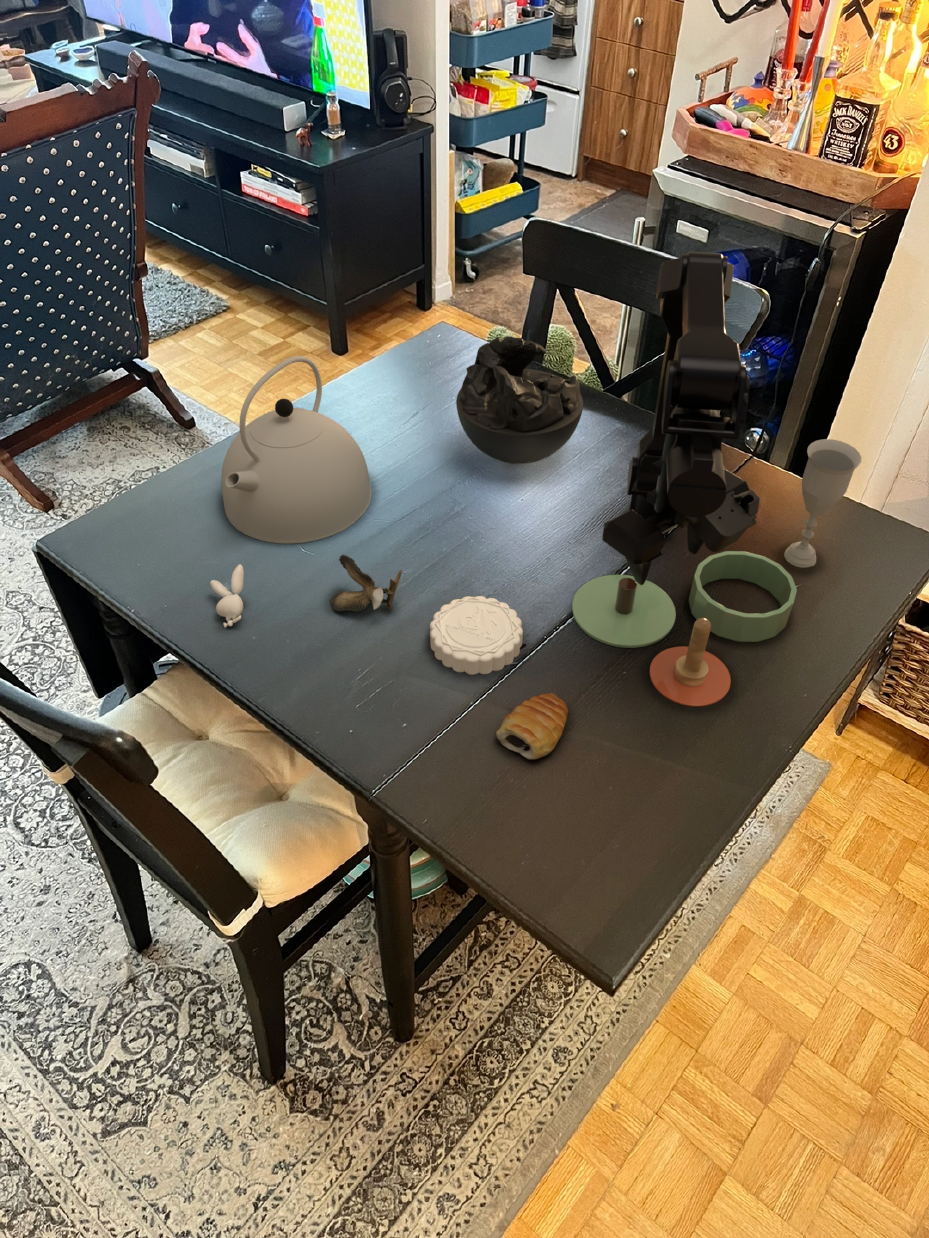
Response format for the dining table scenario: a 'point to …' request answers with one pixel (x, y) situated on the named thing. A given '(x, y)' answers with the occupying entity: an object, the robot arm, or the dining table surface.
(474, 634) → the mooncake
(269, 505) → the kettle
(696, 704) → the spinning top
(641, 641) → the pot lid
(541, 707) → the pastry
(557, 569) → the dining table surface
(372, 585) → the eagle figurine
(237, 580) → the rabbit figurine
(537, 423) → the bowl of black rocks
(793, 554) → the chalice
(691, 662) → the pestle
